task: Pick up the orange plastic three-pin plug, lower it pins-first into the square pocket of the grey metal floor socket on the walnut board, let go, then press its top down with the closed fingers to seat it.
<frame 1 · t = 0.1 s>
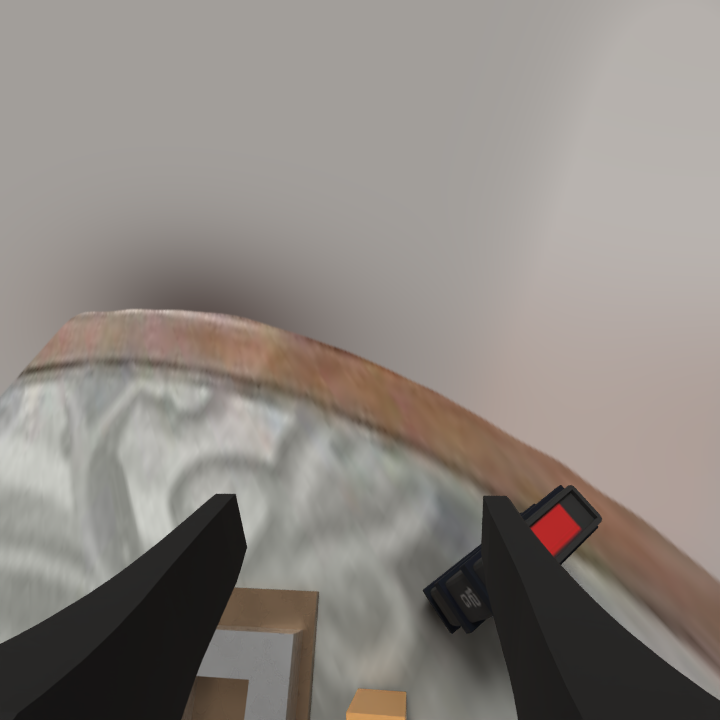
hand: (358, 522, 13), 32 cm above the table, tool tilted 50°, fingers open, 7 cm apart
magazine: (492, 562, 40), on the table
socket: (229, 706, 37), on the table
plug: (381, 718, 36), on the table
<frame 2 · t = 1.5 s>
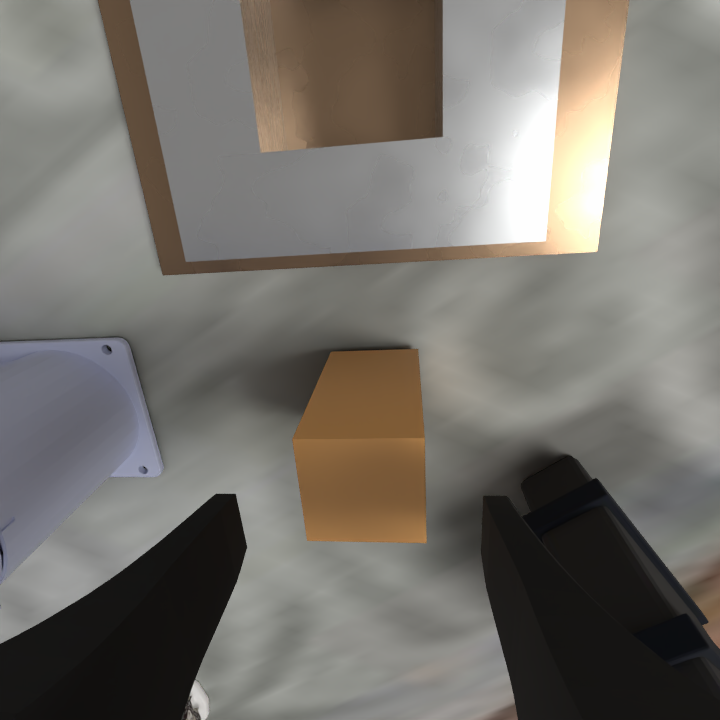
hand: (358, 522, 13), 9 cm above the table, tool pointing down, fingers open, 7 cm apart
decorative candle: (155, 692, 33), on the table
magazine: (607, 545, 24), on the table
socket: (357, 72, 16), on the table
plug: (377, 385, 21), on the table
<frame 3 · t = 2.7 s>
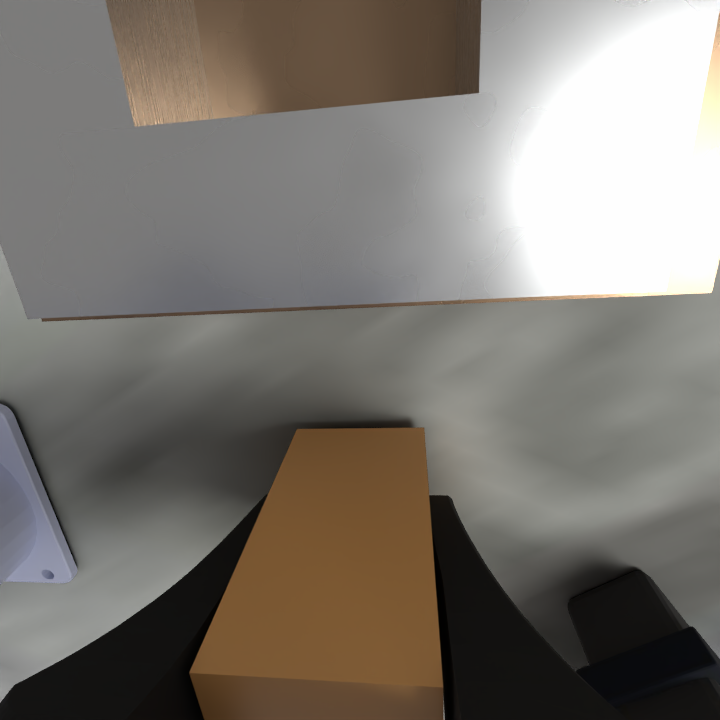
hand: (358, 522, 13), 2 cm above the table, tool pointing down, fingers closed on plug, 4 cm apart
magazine: (682, 677, 17), on the table
socket: (328, 2, 10), on the table
plug: (365, 471, 15), on the table, touching gripper
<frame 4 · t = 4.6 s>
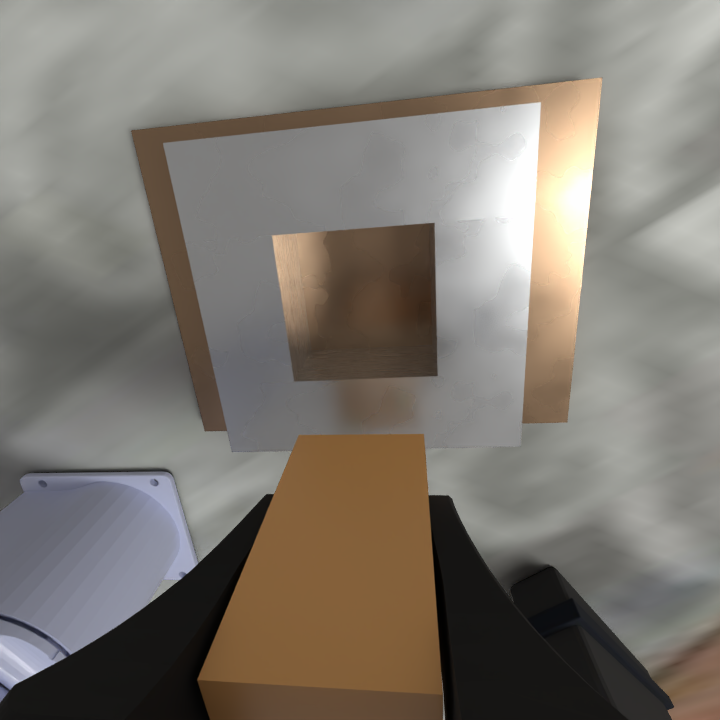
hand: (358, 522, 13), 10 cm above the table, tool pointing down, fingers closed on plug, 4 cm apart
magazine: (587, 635, 27), on the table
socket: (367, 283, 20), on the table
plug: (365, 476, 15), point 7 cm above the table, touching gripper
when the fingers open (5 cm above the table, at t = 6.5 s): plug drops 2 cm, resting on socket.
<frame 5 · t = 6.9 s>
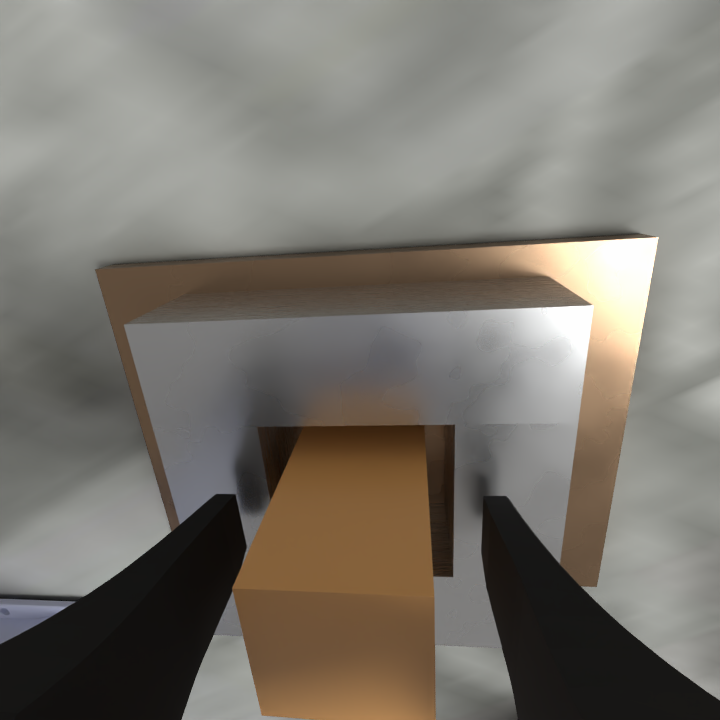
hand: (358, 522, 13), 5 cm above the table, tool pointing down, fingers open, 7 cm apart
socket: (371, 429, 17), on the table
plug: (370, 450, 17), point 1 cm above the table, touching socket
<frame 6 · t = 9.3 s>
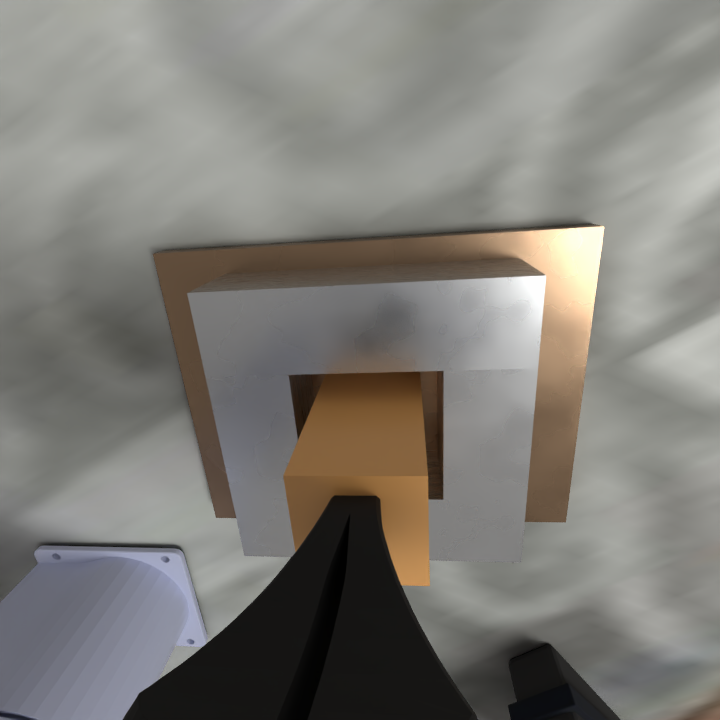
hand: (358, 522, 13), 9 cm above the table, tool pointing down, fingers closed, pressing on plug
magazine: (582, 705, 28), on the table
socket: (376, 388, 21), on the table
plug: (376, 404, 20), point 1 cm above the table, touching gripper, socket
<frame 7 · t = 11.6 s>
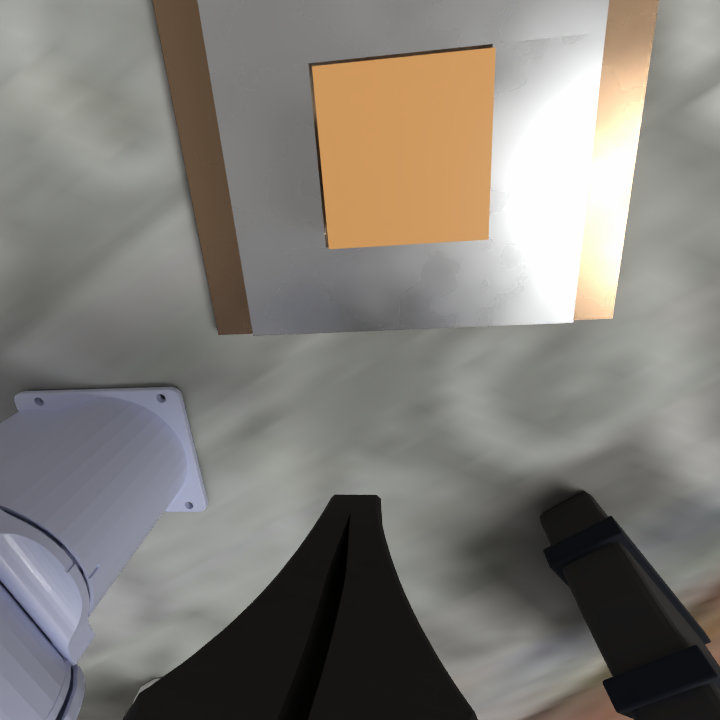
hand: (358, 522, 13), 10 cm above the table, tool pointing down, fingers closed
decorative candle: (188, 709, 34), on the table
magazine: (618, 570, 26), on the table
socket: (401, 161, 19), on the table
plug: (402, 169, 18), point 1 cm above the table, touching socket
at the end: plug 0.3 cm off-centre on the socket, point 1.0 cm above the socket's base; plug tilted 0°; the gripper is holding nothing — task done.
